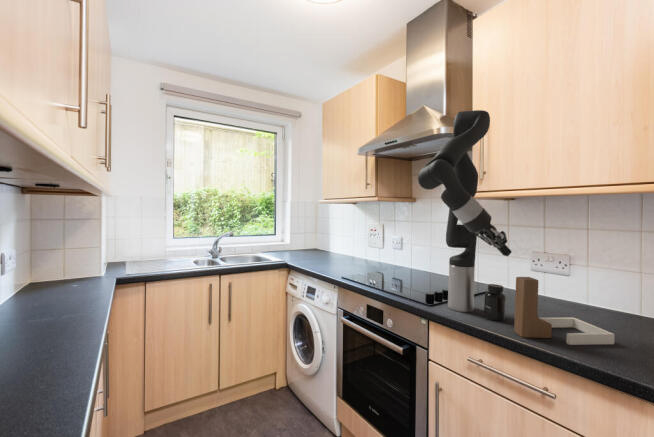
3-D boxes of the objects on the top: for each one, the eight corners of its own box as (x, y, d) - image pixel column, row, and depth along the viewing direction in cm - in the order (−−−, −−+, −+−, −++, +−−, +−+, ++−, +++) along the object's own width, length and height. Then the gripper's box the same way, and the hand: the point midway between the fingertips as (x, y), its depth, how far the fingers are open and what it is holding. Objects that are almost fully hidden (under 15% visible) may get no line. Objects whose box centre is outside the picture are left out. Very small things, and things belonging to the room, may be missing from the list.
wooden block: (541, 332, 99) (544, 277, 99) (551, 338, 95) (554, 280, 94) (513, 332, 100) (515, 276, 99) (522, 337, 95) (524, 279, 94)
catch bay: (534, 326, 105) (534, 317, 105) (573, 326, 106) (573, 317, 105) (569, 344, 91) (569, 334, 91) (614, 344, 92) (614, 334, 91)
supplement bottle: (481, 318, 112) (482, 285, 111) (486, 313, 117) (487, 282, 116) (502, 323, 107) (504, 288, 107) (507, 318, 112) (508, 285, 112)
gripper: (492, 205, 88) (532, 248, 89) (468, 205, 101) (503, 243, 103) (473, 223, 88) (513, 266, 89) (452, 221, 101) (487, 259, 102)
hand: (508, 253), depth 96 cm, fingers closed
